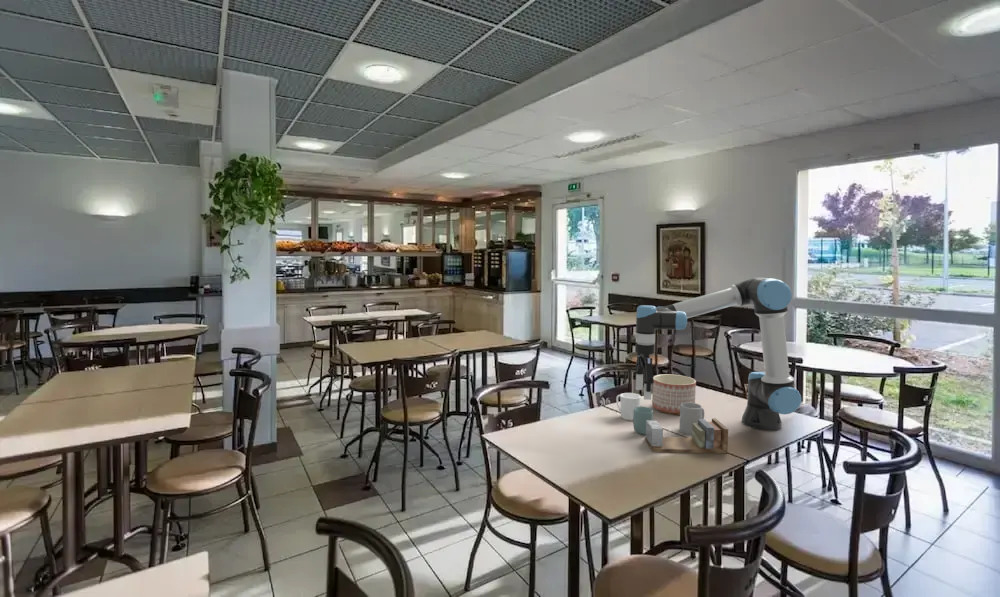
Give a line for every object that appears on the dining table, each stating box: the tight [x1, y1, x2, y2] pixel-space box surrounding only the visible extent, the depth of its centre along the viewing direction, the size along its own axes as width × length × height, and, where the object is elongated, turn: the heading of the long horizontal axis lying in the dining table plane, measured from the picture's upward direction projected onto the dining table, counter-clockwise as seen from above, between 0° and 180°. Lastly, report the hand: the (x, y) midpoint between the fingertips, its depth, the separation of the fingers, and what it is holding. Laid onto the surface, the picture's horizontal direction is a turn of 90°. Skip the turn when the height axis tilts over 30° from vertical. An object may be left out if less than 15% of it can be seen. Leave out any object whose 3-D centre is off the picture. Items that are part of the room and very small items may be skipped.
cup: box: [632, 406, 654, 436], centre depth 202 cm, size 8×8×10 cm
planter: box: [651, 373, 697, 416], centre depth 232 cm, size 19×19×15 cm
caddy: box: [644, 417, 729, 454], centre depth 189 cm, size 28×12×9 cm, turn 88°
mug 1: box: [615, 392, 642, 422], centre depth 221 cm, size 11×9×10 cm
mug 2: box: [679, 402, 705, 435], centre depth 206 cm, size 12×8×11 cm
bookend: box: [645, 420, 664, 447], centre depth 189 cm, size 4×9×7 cm, turn 178°
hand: (643, 394), depth 201 cm, fingers open, 13 cm apart
